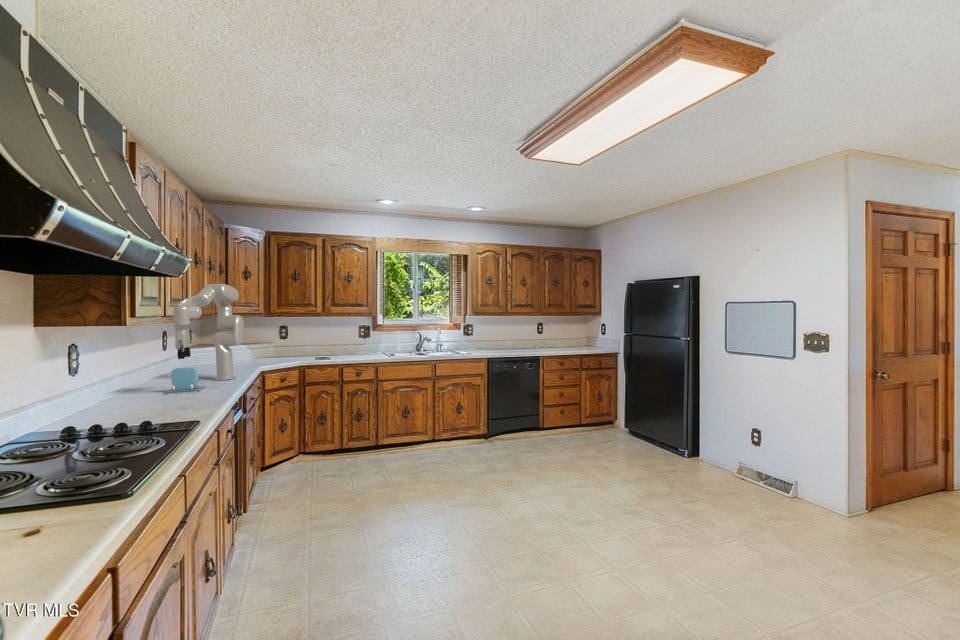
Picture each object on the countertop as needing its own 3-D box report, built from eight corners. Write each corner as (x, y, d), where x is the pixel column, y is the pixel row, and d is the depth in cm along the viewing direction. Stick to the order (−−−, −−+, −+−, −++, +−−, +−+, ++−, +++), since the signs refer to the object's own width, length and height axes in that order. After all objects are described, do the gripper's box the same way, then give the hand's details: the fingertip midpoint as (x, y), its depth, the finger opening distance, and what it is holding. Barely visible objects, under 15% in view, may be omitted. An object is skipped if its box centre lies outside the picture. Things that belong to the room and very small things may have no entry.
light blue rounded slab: (198, 387, 265) (197, 367, 265) (196, 388, 261) (195, 368, 260) (174, 389, 261) (173, 368, 261) (172, 390, 257) (171, 369, 257)
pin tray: (173, 389, 265) (172, 383, 265) (205, 387, 270) (205, 381, 270) (163, 394, 252) (163, 387, 252) (198, 391, 256) (197, 384, 256)
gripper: (180, 327, 267) (182, 356, 268) (169, 329, 250) (171, 360, 251) (195, 326, 269) (196, 355, 270) (184, 328, 252) (186, 359, 253)
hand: (184, 357), depth 261 cm, fingers open, 9 cm apart
